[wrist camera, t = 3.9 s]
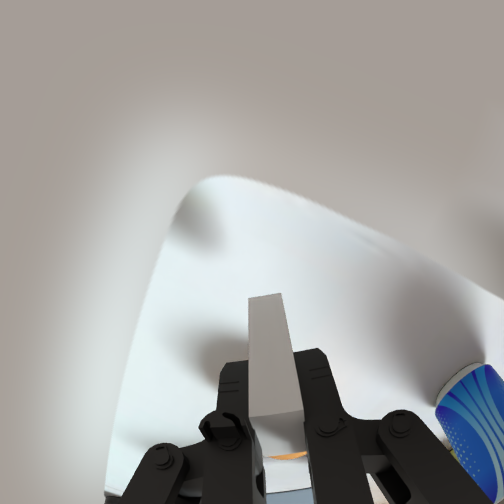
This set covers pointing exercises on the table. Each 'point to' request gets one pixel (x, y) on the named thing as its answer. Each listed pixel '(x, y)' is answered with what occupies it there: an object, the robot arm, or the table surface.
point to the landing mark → (291, 497)
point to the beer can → (476, 425)
